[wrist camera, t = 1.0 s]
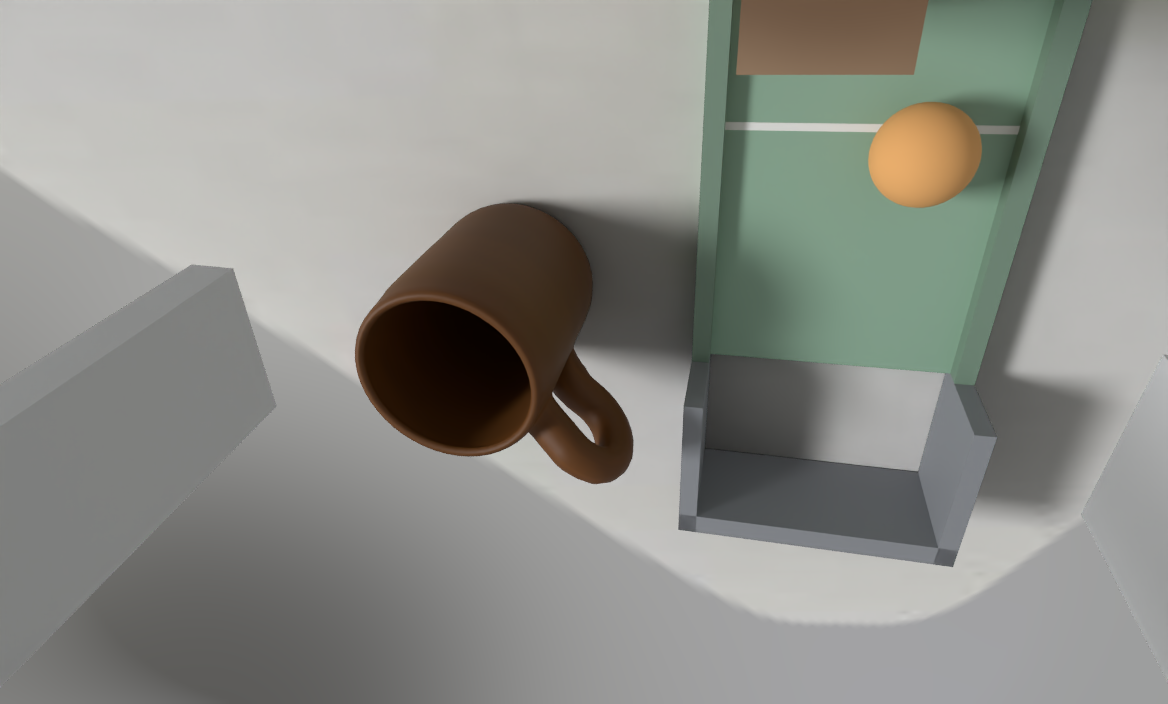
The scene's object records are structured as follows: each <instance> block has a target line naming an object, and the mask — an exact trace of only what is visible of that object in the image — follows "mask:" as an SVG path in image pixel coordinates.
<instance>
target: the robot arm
mask: <svg viewBox="0 0 1168 704" xmlns="http://www.w3.org/2000/svg"><path fill="white" fill-rule="evenodd" d="M275 407H276V403H275V400H274V397H273V393H272V390H271V387H270V384H269V381H268V378H267V375H266V371H265V368H264V365H263V362H262V359H261V355H260V352H259V349H258V346H257V343H256V340H255V336H254V333H253V330H252V327H251V324H250V321H249V317H248V314H247V311H246V308H245V305H244V302H243V299H242V295H241V292H240V289H239V286H238V283H237V280H236V276H235V273H234V270H233V269H232V268H222V267H211V266H200V265H190V266H189V267H187V268H186V269H184V270H182V271H181V272H179V273H178V274H176V275H174V276H173V277H171V278H169V279H168V280H166V281H165V282H163V283H162V284H160V285H158V286H157V287H155V288H153V289H152V290H150V291H149V292H147V293H145V294H144V295H142V296H141V297H139V298H137V299H136V300H134V301H133V302H131V303H129V304H128V305H126V306H125V307H123V308H121V309H120V310H118V311H117V312H115V313H113V314H112V315H110V316H108V317H107V318H105V319H104V320H102V321H100V322H99V323H97V324H96V325H94V326H92V327H91V328H89V329H88V330H86V331H84V332H83V333H81V334H80V335H78V336H76V337H75V338H73V339H72V340H70V341H68V342H67V343H65V344H64V345H62V346H60V347H59V348H57V349H56V350H54V351H52V352H51V353H50V354H48V355H46V356H44V357H43V358H41V359H39V360H38V361H36V362H35V363H33V364H31V365H30V366H28V367H27V368H25V369H24V370H22V371H20V372H19V373H17V374H15V375H14V376H12V377H11V378H9V379H7V380H6V381H4V382H3V383H1V384H0V687H1V686H2V685H3V684H4V683H5V682H6V681H7V680H8V679H9V678H10V677H11V676H12V675H13V674H14V673H15V672H16V671H17V670H18V669H19V668H20V667H21V666H22V665H23V664H24V663H25V662H26V661H27V660H28V659H29V658H30V657H31V656H32V655H33V654H34V653H35V652H36V651H37V650H38V649H39V648H40V647H41V646H42V645H43V644H44V643H45V642H46V640H48V639H49V638H50V637H51V635H52V634H53V633H54V632H55V631H56V630H57V629H58V628H59V627H60V626H61V625H62V624H63V623H64V622H65V621H66V620H67V619H68V618H69V617H70V616H71V615H72V614H73V613H74V612H75V611H76V610H77V609H78V608H79V607H80V606H81V605H82V604H83V603H84V602H85V601H86V600H87V599H88V598H89V597H90V596H91V595H92V594H93V593H94V592H95V591H96V590H97V589H98V588H99V587H100V585H102V583H104V581H105V580H107V578H108V577H109V576H110V575H111V574H112V573H113V572H114V571H115V570H116V569H117V568H118V567H119V566H120V565H121V564H122V563H123V562H124V561H125V560H126V559H127V558H128V557H129V556H130V555H131V554H132V553H133V552H134V551H135V550H136V549H137V548H138V547H139V546H140V545H141V544H142V543H143V542H144V541H145V540H146V539H147V538H148V537H149V536H150V535H151V534H152V533H153V532H154V531H155V529H156V528H157V527H159V526H160V524H161V523H162V522H163V521H164V520H165V519H166V518H167V517H168V516H169V515H170V514H171V513H172V512H173V511H174V510H175V509H176V508H177V507H178V506H179V505H180V504H181V503H182V502H183V501H184V500H185V499H186V498H187V497H188V496H189V495H190V494H191V493H192V492H193V491H194V490H195V489H196V488H197V487H198V486H199V485H200V484H201V483H202V481H204V480H205V479H206V478H207V477H208V476H209V474H211V473H212V471H214V470H215V469H216V468H217V466H218V465H219V464H220V463H221V462H222V461H223V460H224V459H225V458H226V457H227V456H228V455H229V454H230V453H231V452H232V451H233V450H234V449H235V448H236V447H237V446H238V445H239V444H240V443H241V442H242V441H243V440H244V439H245V438H246V437H247V436H248V435H249V434H250V433H251V432H252V431H253V430H254V429H255V428H256V427H257V426H258V425H259V424H260V423H261V422H262V421H263V420H264V418H266V417H267V416H268V415H269V413H271V411H272V410H273V409H274V408H275ZM1081 515H1082V517H1083V519H1084V521H1085V523H1086V525H1087V527H1088V528H1089V530H1090V532H1091V534H1092V536H1093V538H1094V540H1095V542H1096V544H1097V546H1098V548H1099V550H1100V552H1101V554H1102V556H1103V558H1104V560H1105V562H1106V564H1107V566H1108V567H1109V569H1110V571H1111V573H1112V575H1113V577H1114V579H1115V581H1116V583H1117V585H1118V587H1119V589H1120V591H1121V593H1122V595H1123V597H1124V599H1125V601H1126V603H1127V605H1128V607H1129V608H1130V611H1131V612H1132V614H1133V616H1134V618H1135V620H1136V622H1137V624H1138V626H1139V628H1140V630H1141V632H1142V634H1143V636H1144V638H1145V640H1146V642H1147V644H1148V646H1149V648H1150V650H1151V651H1152V653H1153V655H1154V657H1155V659H1156V661H1157V663H1158V665H1159V667H1160V669H1161V671H1162V673H1163V675H1164V677H1165V679H1166V681H1167V683H1168V355H1163V356H1162V358H1161V359H1160V361H1159V363H1158V365H1157V367H1156V369H1155V371H1154V373H1153V375H1152V377H1151V379H1150V381H1149V383H1148V385H1147V387H1146V389H1145V391H1144V393H1143V395H1142V397H1141V398H1140V400H1139V402H1138V404H1137V406H1136V408H1135V410H1134V412H1133V414H1132V416H1131V418H1130V420H1129V422H1128V424H1127V426H1126V428H1125V430H1124V432H1123V434H1122V436H1121V437H1120V439H1119V441H1118V443H1117V445H1116V447H1115V449H1114V451H1113V453H1112V455H1111V457H1110V459H1109V461H1108V463H1107V465H1106V467H1105V469H1104V471H1103V473H1102V475H1101V476H1100V478H1099V480H1098V482H1097V484H1096V486H1095V488H1094V490H1093V492H1092V494H1091V496H1090V498H1089V500H1088V502H1087V504H1086V506H1085V508H1084V510H1083V512H1082V514H1081Z"/></svg>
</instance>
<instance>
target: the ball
mask: <svg viewBox="0 0 1168 704" xmlns="http://www.w3.org/2000/svg"><path fill="white" fill-rule="evenodd" d="M981 155H982V143H981V137H980V133H979V131H978V129H977V127H976V125H975V123H974V122H973V121H972V119H971V118H970V117H969V116H968V115H967V114H966V113H964V112H963V111H962V110H960V109H958V108H956V107H955V106H952V105H949V104H946V103H941V102H922V103H917V104H914V105H910V106H908V107H906V108H903V109H902V110H900V111H898V112H896V113H895V114H894V115H892V116H891V117H890V118H889V119H888V120H886V121H885V122H884V124H883V125H882V126H881V127H880V128H879V130H878V131H877V133H876V135H875V137H874V138H873V141H872V144H871V146H870V150H869V157H868V166H869V171H870V175H871V178H872V181H873V182H874V184H875V186H876V187H877V189H878V190H879V191H880V192H881V193H882V194H883V195H884V196H885V197H886V198H888V199H889V200H891V201H893V202H894V203H896V204H899V205H902V206H906V207H913V208H925V207H931V206H935V205H938V204H941V203H944V202H946V201H948V200H950V199H951V198H953V197H955V196H956V195H957V194H959V193H960V192H961V191H962V190H963V189H964V188H965V187H966V186H967V185H968V184H969V183H970V181H971V180H972V178H973V177H974V175H975V173H976V171H977V169H978V167H979V164H980V161H981Z"/></svg>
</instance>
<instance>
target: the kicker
mask: <svg viewBox="0 0 1168 704" xmlns="http://www.w3.org/2000/svg"><path fill="white" fill-rule="evenodd" d="M928 1H929V0H741V12H740V26H739V41H738V55H737V69H736V75H914V72H915V67H916V62H917V57H918V52H919V46H920V41H921V36H922V31H923V26H924V21H925V16H926V11H927V6H928Z"/></svg>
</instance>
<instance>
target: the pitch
mask: <svg viewBox="0 0 1168 704" xmlns="http://www.w3.org/2000/svg"><path fill="white" fill-rule="evenodd" d="M1091 4H1092V0H929V1H928V6H927V11H926V16H925V21H924V26H923V31H922V36H921V41H920V46H919V52H918V57H917V62H916V67H915V72H914V75H736V69H737V55H738V41H739V26H740V12H741V0H709V20H708V40H707V61H706V81H705V102H704V122H703V142H702V163H701V183H700V204H699V224H698V245H697V265H696V285H695V306H694V326H693V347H692V363H691V369H690V374H689V380H688V386H687V391H686V397H685V402H684V413H683V436H682V459H681V482H680V505H679V528H678V530H685V531H692V532H700V533H707V534H714V535H722V536H729V537H736V538H744V539H751V540H758V541H766V542H773V543H780V544H788V545H795V546H803V547H810V548H817V549H825V550H832V551H839V552H847V553H854V554H861V555H869V556H876V557H883V558H891V559H898V560H905V561H913V562H920V563H928V564H935V565H942V566H950V567H953V565H954V562H955V559H956V556H957V553H958V550H959V548H960V545H961V542H962V539H963V536H964V533H965V530H966V527H967V524H968V521H969V518H970V515H971V513H972V510H973V507H974V504H975V501H976V498H977V495H978V492H979V489H980V486H981V483H982V481H983V478H984V475H985V472H986V469H987V466H988V463H989V460H990V457H991V454H992V451H993V448H994V446H995V443H996V440H997V436H996V434H995V431H994V429H993V427H992V424H991V422H990V420H989V417H988V415H987V413H986V411H985V408H984V406H983V404H982V401H981V399H980V397H979V395H978V392H977V390H976V388H975V382H976V379H977V376H978V372H979V369H980V366H981V363H982V359H983V356H984V353H985V350H986V346H987V343H988V340H989V337H990V333H991V330H992V327H993V324H994V320H995V317H996V314H997V310H998V307H999V304H1000V301H1001V297H1002V294H1003V291H1004V288H1005V284H1006V281H1007V278H1008V275H1009V271H1010V268H1011V265H1012V261H1013V258H1014V255H1015V252H1016V248H1017V245H1018V242H1019V239H1020V235H1021V232H1022V229H1023V226H1024V222H1025V219H1026V216H1027V213H1028V209H1029V206H1030V203H1031V199H1032V196H1033V193H1034V190H1035V186H1036V183H1037V180H1038V177H1039V173H1040V170H1041V167H1042V164H1043V160H1044V157H1045V154H1046V150H1047V147H1048V144H1049V141H1050V137H1051V134H1052V131H1053V128H1054V124H1055V121H1056V118H1057V115H1058V111H1059V108H1060V105H1061V102H1062V98H1063V95H1064V92H1065V88H1066V85H1067V82H1068V79H1069V75H1070V72H1071V69H1072V66H1073V62H1074V59H1075V56H1076V53H1077V49H1078V46H1079V43H1080V39H1081V36H1082V33H1083V30H1084V26H1085V23H1086V20H1087V17H1088V13H1089V10H1090V7H1091ZM922 102H941V103H946V104H949V105H952V106H955V107H956V108H958V109H960V110H962V111H963V112H964V113H966V114H967V115H968V116H969V117H970V118H971V119H972V121H973V122H974V123H975V125H976V127H977V129H978V131H979V133H980V137H981V143H982V155H981V161H980V164H979V167H978V169H977V171H976V173H975V175H974V177H973V178H972V180H971V181H970V183H969V184H968V185H967V186H966V187H965V188H964V189H963V190H962V191H961V192H960V193H959V194H957V195H956V196H955V197H953V198H951V199H950V200H948V201H946V202H944V203H941V204H938V205H935V206H931V207H925V208H913V207H906V206H902V205H899V204H896V203H894V202H893V201H891V200H889V199H888V198H886V197H885V196H884V195H883V194H882V193H881V192H880V191H879V190H878V189H877V187H876V186H875V184H874V182H873V181H872V178H871V175H870V171H869V166H868V157H869V150H870V146H871V144H872V141H873V138H874V137H875V135H876V133H877V131H878V130H879V128H880V127H881V126H882V125H883V124H884V122H885V121H886V120H888V119H889V118H890V117H891V116H892V115H894V114H895V113H896V112H898V111H900V110H902V109H903V108H906V107H908V106H910V105H914V104H917V103H922ZM711 354H718V355H731V356H743V357H755V358H767V359H779V360H791V361H803V362H815V363H828V364H840V365H852V366H864V367H876V368H888V369H900V370H912V371H925V372H937V373H945V377H944V380H943V384H942V387H941V391H940V395H939V398H938V402H937V406H936V409H935V413H934V416H933V420H932V424H931V427H930V431H929V434H928V438H927V442H926V445H925V449H924V452H923V456H922V460H921V463H920V467H919V471H918V472H912V471H903V470H894V469H885V468H876V467H867V466H858V465H849V464H840V463H831V462H822V461H813V460H804V459H795V458H785V457H776V456H767V455H758V454H749V453H740V452H731V451H722V450H713V449H705V437H706V422H707V407H708V391H709V376H710V361H711Z"/></svg>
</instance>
